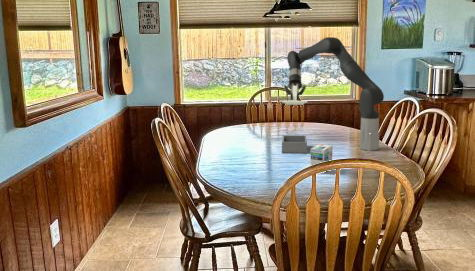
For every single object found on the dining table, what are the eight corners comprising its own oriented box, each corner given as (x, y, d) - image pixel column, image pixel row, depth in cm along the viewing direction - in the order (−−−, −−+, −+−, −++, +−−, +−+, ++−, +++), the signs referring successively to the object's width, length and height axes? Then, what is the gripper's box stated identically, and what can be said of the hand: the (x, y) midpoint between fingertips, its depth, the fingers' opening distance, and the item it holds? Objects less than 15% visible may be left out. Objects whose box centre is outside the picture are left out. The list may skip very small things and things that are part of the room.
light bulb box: (324, 174, 190) (324, 150, 188) (309, 171, 194) (310, 148, 191) (332, 168, 199) (333, 145, 197) (318, 166, 202) (319, 143, 200)
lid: (307, 104, 244) (307, 85, 243) (282, 104, 246) (282, 85, 245) (306, 104, 263) (306, 85, 262) (283, 103, 265) (283, 85, 264)
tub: (306, 153, 226) (306, 142, 225) (281, 153, 228) (281, 142, 227) (305, 146, 244) (306, 135, 243) (282, 145, 245) (282, 135, 244)
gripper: (283, 73, 267) (283, 95, 257) (306, 73, 265) (306, 95, 256) (283, 81, 273) (283, 103, 264) (306, 81, 271) (306, 103, 262)
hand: (294, 99), depth 260 cm, fingers closed on lid, 2 cm apart
